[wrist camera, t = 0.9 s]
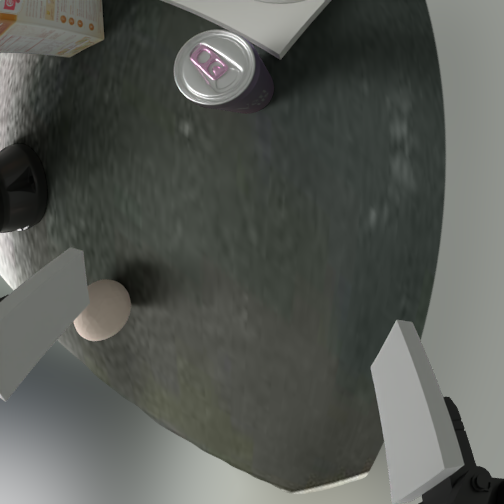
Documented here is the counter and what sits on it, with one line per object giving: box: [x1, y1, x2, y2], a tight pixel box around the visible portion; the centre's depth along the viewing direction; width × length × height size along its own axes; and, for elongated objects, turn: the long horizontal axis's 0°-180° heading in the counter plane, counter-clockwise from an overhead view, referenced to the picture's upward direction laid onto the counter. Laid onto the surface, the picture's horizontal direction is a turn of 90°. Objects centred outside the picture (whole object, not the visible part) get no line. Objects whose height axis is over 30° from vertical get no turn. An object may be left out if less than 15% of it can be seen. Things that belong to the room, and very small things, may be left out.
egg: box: [74, 279, 131, 341], centre depth 39 cm, size 8×8×11 cm
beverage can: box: [174, 30, 274, 113], centre depth 23 cm, size 6×6×15 cm
